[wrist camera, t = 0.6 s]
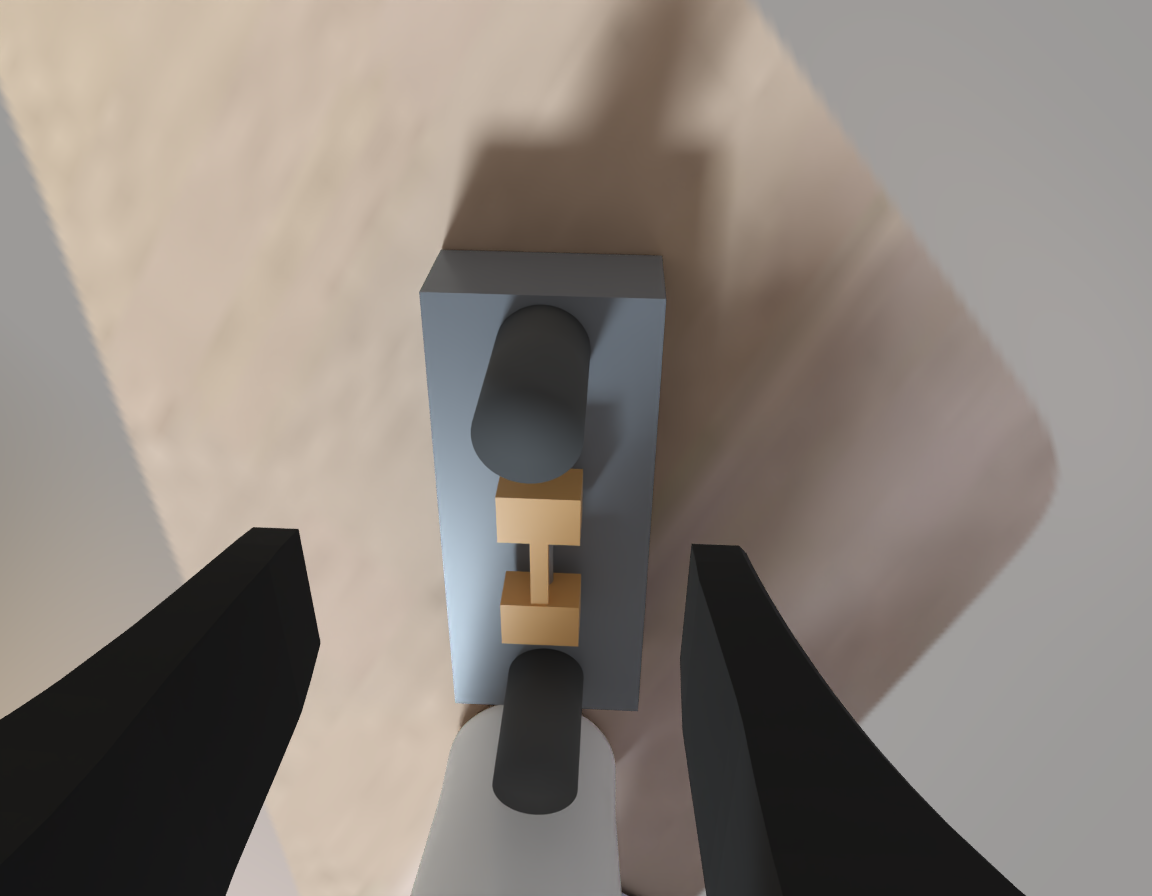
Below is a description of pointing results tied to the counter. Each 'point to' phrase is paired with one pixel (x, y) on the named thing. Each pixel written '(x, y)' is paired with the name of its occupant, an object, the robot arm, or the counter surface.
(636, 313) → the grey base plate
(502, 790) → the cord plug back
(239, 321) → the counter surface
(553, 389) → the cord plug front
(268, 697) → the robot arm
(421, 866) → the drinking glass
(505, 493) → the tan wooden dumbbell piece
